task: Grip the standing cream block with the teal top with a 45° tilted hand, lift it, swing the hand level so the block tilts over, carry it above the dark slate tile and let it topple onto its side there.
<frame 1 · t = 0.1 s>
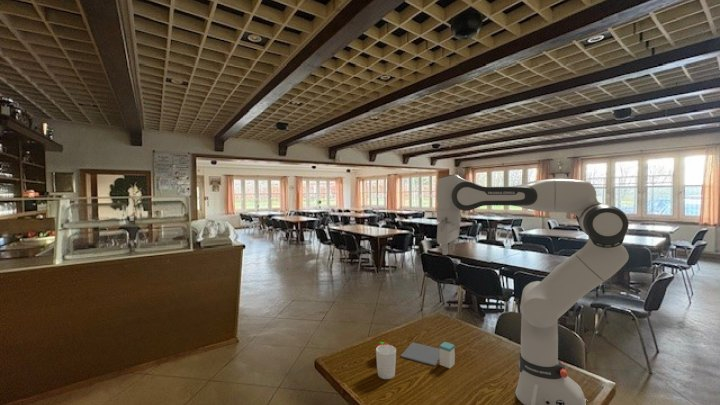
hand: (448, 252, 122), 48 cm above the table, tool pointing down, fingers open, 8 cm apart
white cup: (386, 375, 123), on the table
block: (447, 364, 130), on the table
slate tile: (422, 354, 139), on the table
clementine: (383, 359, 135), on the table
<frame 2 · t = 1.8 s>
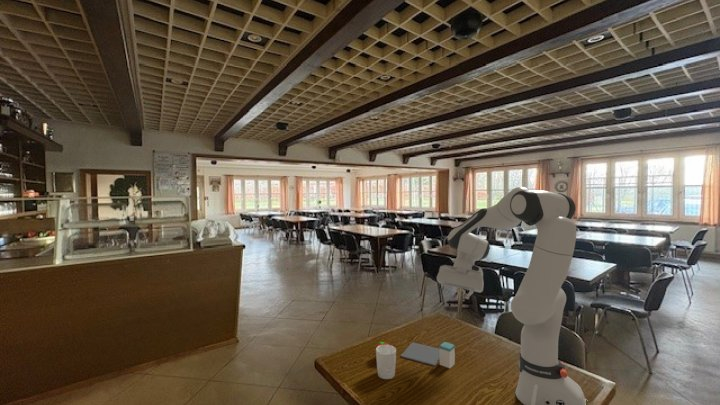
hand: (455, 295, 138), 26 cm above the table, tool tilted 45°, fingers open, 8 cm apart
nothing on the table moved.
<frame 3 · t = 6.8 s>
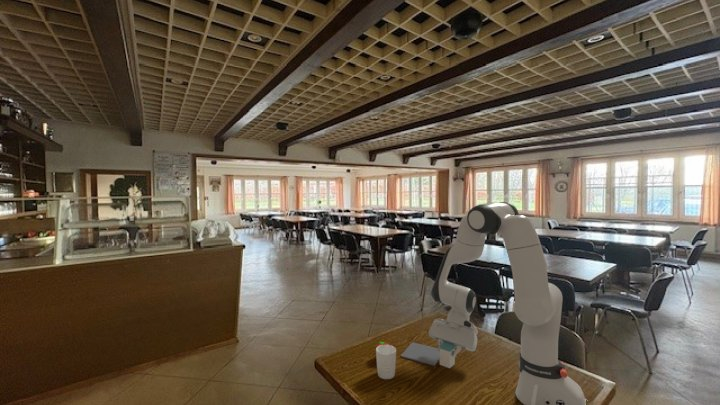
hand: (446, 353, 130), 5 cm above the table, tool tilted 45°, fingers closed on block, 4 cm apart
block: (447, 364, 130), on the table, touching gripper
everything else where it was.
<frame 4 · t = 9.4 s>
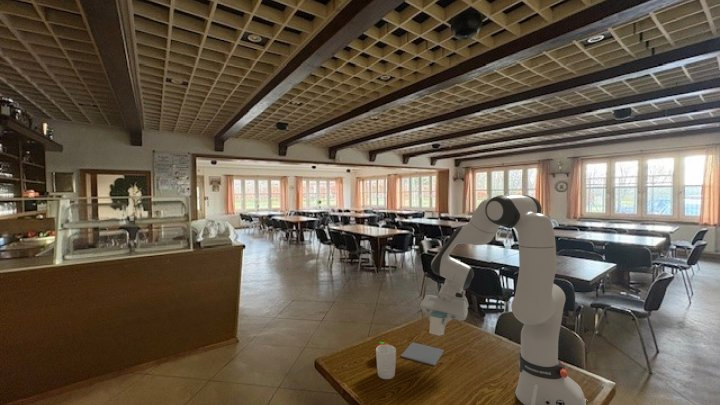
hand: (436, 322, 131), 17 cm above the table, tool tilted 55°, fingers closed on block, 4 cm apart
block: (436, 333, 131), point 13 cm above the table, tilted 12°, touching gripper
everything else where it was.
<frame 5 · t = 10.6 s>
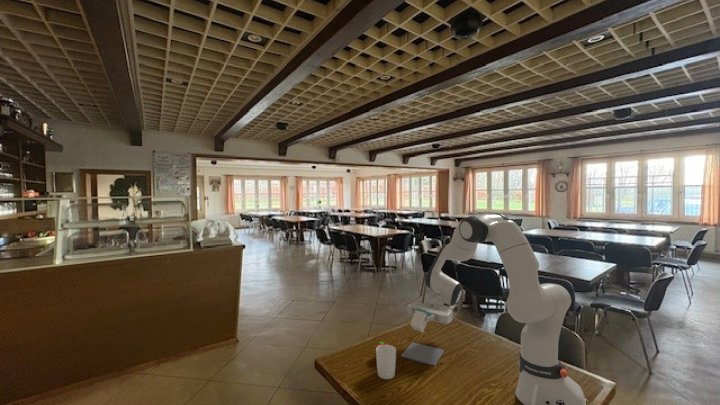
hand: (419, 317, 136), 17 cm above the table, tool horizontal, fingers closed on block, 4 cm apart
block: (416, 328, 134), point 13 cm above the table, tilted 45°, touching gripper
everything else where it was.
when the fingers open (10 cm above the table, at t = 12.3 s): block drops 3 cm and tips over, resting on slate tile.
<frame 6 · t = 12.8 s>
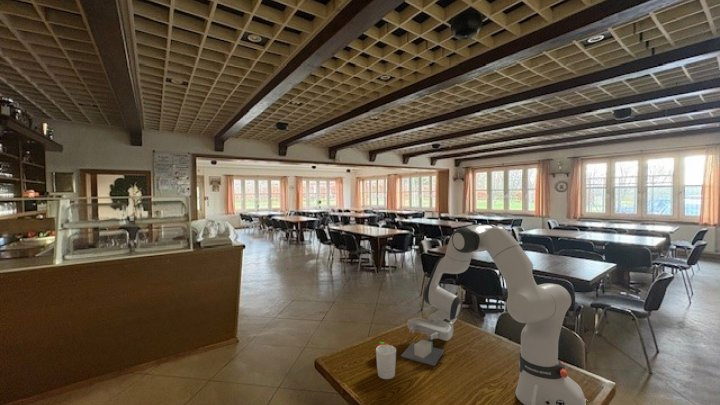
hand: (420, 334, 136), 10 cm above the table, tool horizontal, fingers open, 8 cm apart
block: (418, 351, 135), point 3 cm above the table, tilted 90°, touching slate tile
everything else where it was.
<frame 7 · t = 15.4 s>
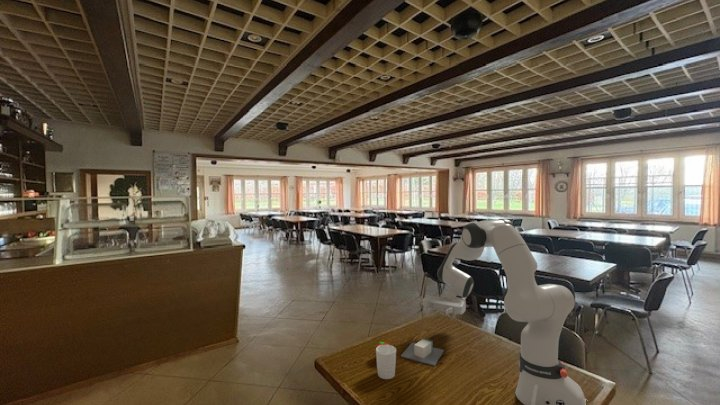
hand: (435, 310, 145), 17 cm above the table, tool horizontal, fingers open, 8 cm apart
nothing on the table moved.
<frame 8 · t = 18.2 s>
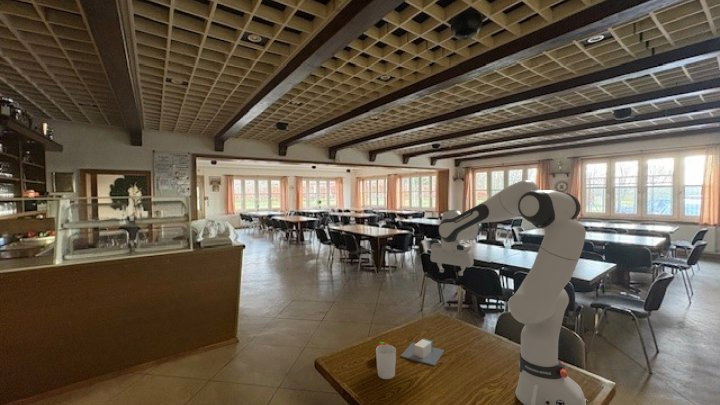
hand: (451, 273, 147), 33 cm above the table, tool pointing down, fingers open, 8 cm apart
nothing on the table moved.
at the end: block tilted 90°; block inside the target area on the slate tile (4.1 cm from its centre), point 2.8 cm above the slate tile's base; the gripper is holding nothing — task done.
